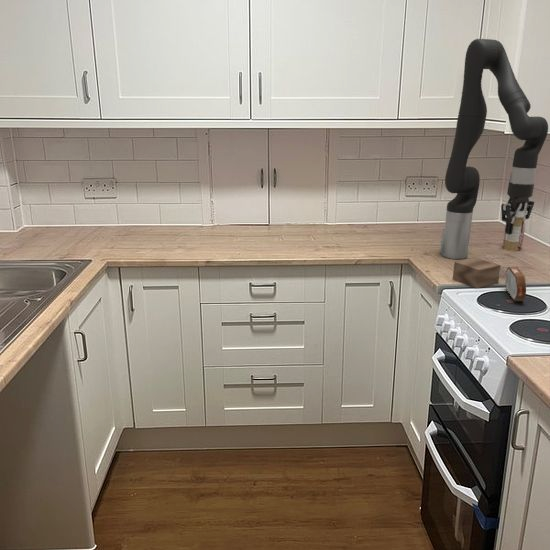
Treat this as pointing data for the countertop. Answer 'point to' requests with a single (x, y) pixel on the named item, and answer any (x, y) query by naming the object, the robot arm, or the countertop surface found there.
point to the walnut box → (476, 272)
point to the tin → (516, 283)
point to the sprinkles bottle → (514, 233)
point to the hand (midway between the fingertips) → (513, 232)
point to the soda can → (519, 239)
